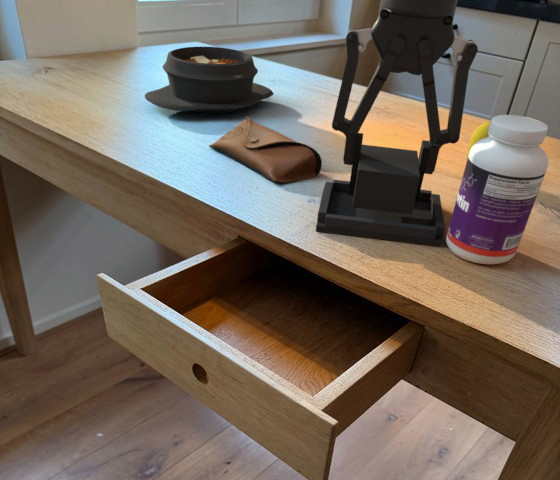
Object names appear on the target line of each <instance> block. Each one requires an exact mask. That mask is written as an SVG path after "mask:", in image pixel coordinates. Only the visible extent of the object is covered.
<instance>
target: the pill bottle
mask: <svg viewBox="0 0 560 480" xmlns="http://www.w3.org/2000/svg"><path fill="white" fill-rule="evenodd" d="M490 121H491V123H490V126H489V130H488V135H489V137H488V138H484V139H482V140H480V141H478V142H476V143H475V144H474V145H473V146H472V148H471V150H470V152H469V155H468V158H467V159H466V163H465V166H464V170H463V174H462V178H461V180H460V181H461V182H460V185H459V189H458V192H457V196H456V200H455V204H454V207H453V210H452V215H451V217H450V221H449V225H448V229H447V233H446V238H445V243H446V245H447V247H448V248H449V250H450V251H451V252H452V253H453V254H454V255H456V256H457V257H459V258H460V259H462V260H465V261H468V262H471V263H476V264H481V265H498V264H499V265H500V264H504V263H506V262H508V261H510V260H511V259H513V257H514V256H516V254H517V252H518V249H519V246H520V244H521V240H522V238H523V235H524V233H525V229H526V227H527V224H528V221H529V219H530V216H531V214H532V211H533V208H534V205H535V202H536V199H537V197H538V195H539V191H540V189H541V186H542V184H543V181H544V178H545V175H546V173H547V170H548V167H549V157H548V155H547V153H546V151H545V150H544V149H543V148H542V147H540V146H541V145H542V144H543V143H544V141H545V139H546V136H547V132H548V130H549V127H548V125H547V124H546V123H544V122H543V121H540V120H537V119H535V118H533V117H532V118H531V117H527V116H522V115H515V114H499V115H495V116H493V117H492V118H491V120H490Z"/></svg>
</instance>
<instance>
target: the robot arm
mask: <svg viewBox="0 0 560 480" xmlns="http://www.w3.org/2000/svg"><path fill="white" fill-rule="evenodd" d="M457 4H458V0H380V5H379V11H378V12H379V13H378V16H377V18H376V20H375V21H374V23H373V24H372V26H371V27H367V28H362V29H357V28H355V27H352V28H349V30H348V32H347V34H346V37H345V42H346V45H345V46H346V56H347V58H346V62H345V66H344V71H343V76H342V80H341V84H340V87H339V92H338V97H337V101H336V104H335V105H336V106H335V108H334V114H333V118H332V122H331V128H332V130H333V131H338V132H340V133H342V134H343V135H344V137H345V144H344V152H343V159H342V161H343V165H347V166H351V170H350V171H351V172H350V178H349V181H350V184H349V191H348V195H354V191H355V185H356V178H357V172H358V165H359V160H360V153H361V147H362V145H363V138H364V133H363V132H360V130H361V128H362V127H363V125H364V123H365V120H366V119H367V116H368V115H369V113H370V111H371V109H372V107H373V106H374V103H375V101H376V100H377V97H378V96H379V94H380V92H381V90H382V88H383V86H384V84H385V82H386V81H387V80H388V78H389V76H390V74H391V73H392V74H393V73H394V74H401V73H409V74H411V75H413V76H421V83H422V89H423V98H424V105H425V106H424V107H425V113H426V120H427V128H428V135H429V139H428V140H424V139H422V140H421V144H420V149H419V153H418V163H419V172H420V180H419V185H418V189H417V194H416V198H415V202H414V203H418V199H419V194H420V190H422V185H423V181H424V176H425V174H426V175H433V174H434V172H435V170H436V166H437V161H438V157H439V153H440V149H441V148H442V146H445V145H448V144H456V143H458V142H459V140H460V136H461V128H462V124H463V123H462V122H463V116H464V115H463V114H464V108H465V102H466V101H465V100H466V94H467V88H468V87H467V86H468V81H469V80H468V79H469V73H470V68H471V66H472V64H473V63H474V60H475V58H476V56H477V54H478V51H479V49H478V48H479V47H478V45H477V44H476V42H475V40H473V39H467V40H466V39H463V38H461V37H459V36H456V35H455V31H454V18H455V13H456V9H457ZM370 41H373V44H374V45H375V48H376V50H377V52H378V54H379V57H380V59H381V60H380V61H379V63H378V65H377V67H376V69H375V71H374V74H373V75H372V78H371V79H370V81H369V84H368V85H367V86H366V87H367V88H366V89H365V91H364V93H363V95H362V97H361V99H360V100H359V103H358V104H357V107H356V109H355V110H354V113H353V115H352V116H351V118H350V119H349V118H347V117H345V116H346V113H347V108H348V105H349V100H350V96H351V92H352V88H353V84H354V80H355V76H356V72H357V69H358V65H359V64H358V63H359V59H360V54H363V53H364V52H365V51H366V49H367V46H368V43H369V42H370ZM449 49H452V55H451V57H452V61H453V62H454V63H455V65H454V69H453V79H452V86H451V88H452V89H451V95H450V101H449V110H448V119H447V125H446V128H445V129H441V123H440V116H439V109H438V98H437V92H436V91H437V90H436V82H435V72H434V65H435V64H436V63H437V62H438V61H439V60H440V59H441V58H442V57H443V55H445V53H446V52H447V51H449Z"/></svg>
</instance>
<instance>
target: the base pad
mask: <svg viewBox="0 0 560 480" xmlns="http://www.w3.org/2000/svg"><path fill="white" fill-rule="evenodd" d="M349 184H350V180H340V179H333V180H332V181H325V182H324V187H323V190H322V195H321V199H320V203H319V207H318V210H317V211H318V212H317V219H316V220H317V221H316V225H315V232H318V233H326V234H333V235H334V234H335V235H344V236H351V237H358V238H367V239H376V240H382V241H391V242H399V243H407V244H416V245H424V246H430V247H431V246H433V247H443V243H444V234H445V231H446V225H445V219H444V212H443V206H442V201H441V195H440V194H436V193H433V192H432V190H429V189H427V190H426V189H421V190H420V194H419V199H418V203H414V207H413V211H412V214H403V213H395V212H387V211H379V210H371V209H363V208H355V207H352V206H353V198H354V195H348V191H349Z"/></svg>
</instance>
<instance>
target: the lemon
mask: <svg viewBox="0 0 560 480" xmlns="http://www.w3.org/2000/svg"><path fill="white" fill-rule="evenodd" d="M490 123H491V120H489V121H485V122H484V123H482V124H480V125H479V126H478V127H477V128H476V129H475V130H474V132H473V134H472V135H471V137H470V139H469V142H468V145H467V153H466V156H467V157H466V158H467V159H468V155H469V152H470V150H471V148H472V146H473V145H474V144H475V143H476V142H478V141H480V140H482V139H484V138H488V137H489V135H488V130H489V126H490Z"/></svg>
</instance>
